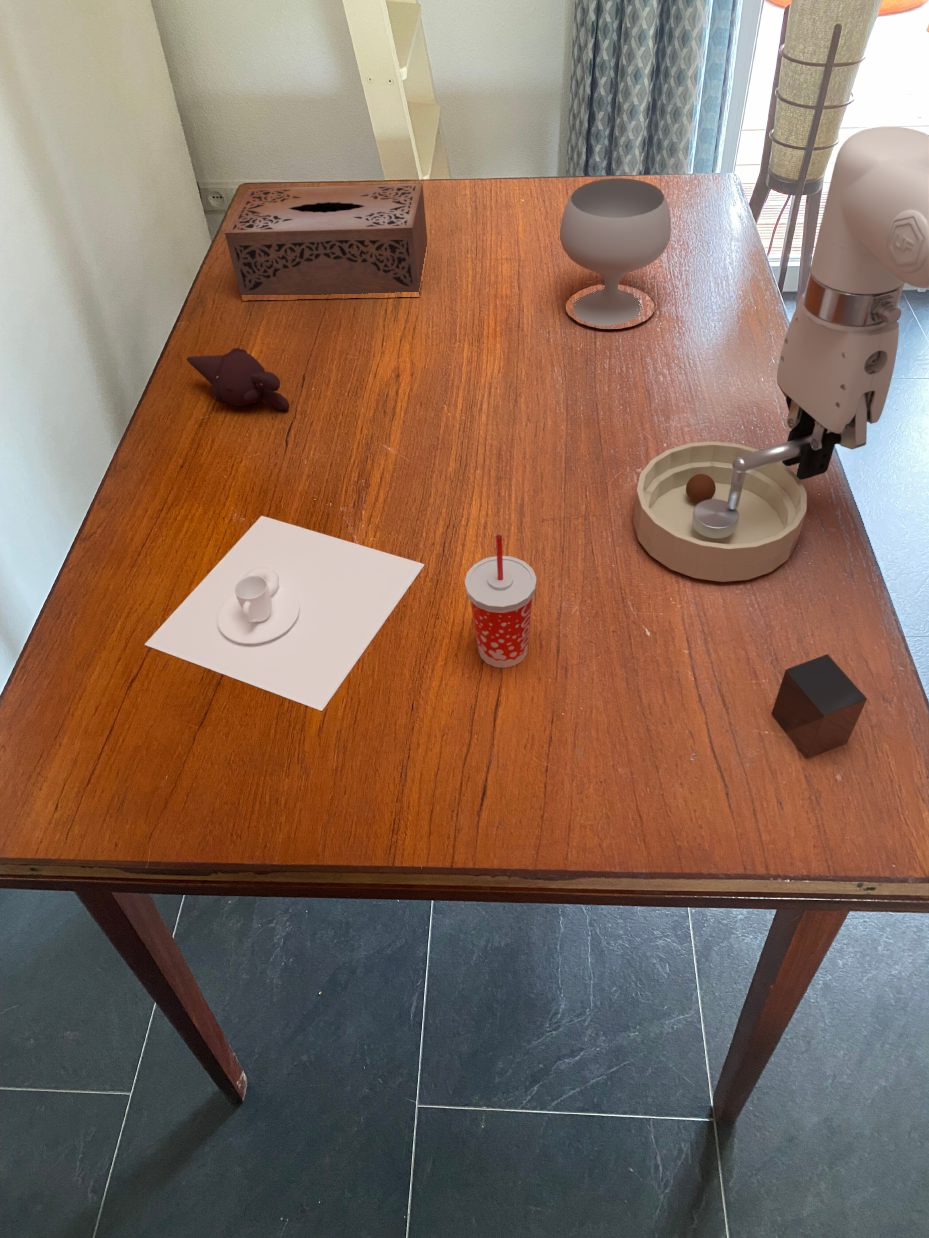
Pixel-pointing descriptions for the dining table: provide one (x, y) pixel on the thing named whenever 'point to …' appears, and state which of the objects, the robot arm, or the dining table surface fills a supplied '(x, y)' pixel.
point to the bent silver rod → (740, 489)
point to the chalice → (614, 241)
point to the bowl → (764, 505)
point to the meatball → (700, 488)
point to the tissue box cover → (329, 239)
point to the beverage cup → (501, 607)
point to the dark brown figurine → (239, 379)
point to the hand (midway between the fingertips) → (804, 467)
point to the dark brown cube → (818, 705)
